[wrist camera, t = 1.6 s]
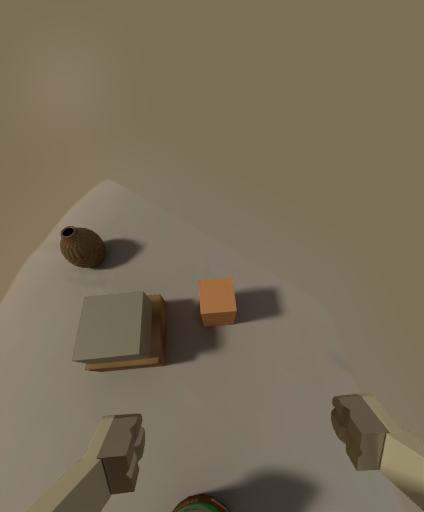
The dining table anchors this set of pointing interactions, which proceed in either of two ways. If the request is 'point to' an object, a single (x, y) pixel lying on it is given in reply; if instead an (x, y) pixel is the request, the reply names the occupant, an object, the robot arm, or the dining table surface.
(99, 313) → the tower top block
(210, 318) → the terracotta block
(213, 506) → the food container
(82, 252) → the vase
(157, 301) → the tower base block
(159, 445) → the dining table surface
